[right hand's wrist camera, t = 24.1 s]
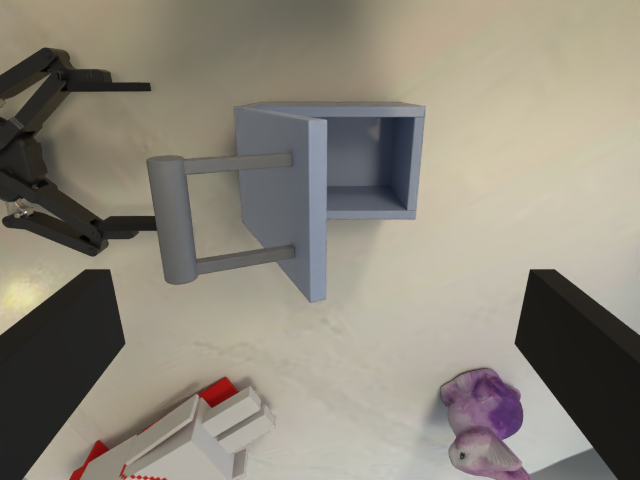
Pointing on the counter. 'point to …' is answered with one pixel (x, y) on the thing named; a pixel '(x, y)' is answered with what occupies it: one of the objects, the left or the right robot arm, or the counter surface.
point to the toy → (188, 441)
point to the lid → (254, 200)
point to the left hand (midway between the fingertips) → (156, 159)
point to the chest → (367, 155)
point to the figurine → (484, 425)
